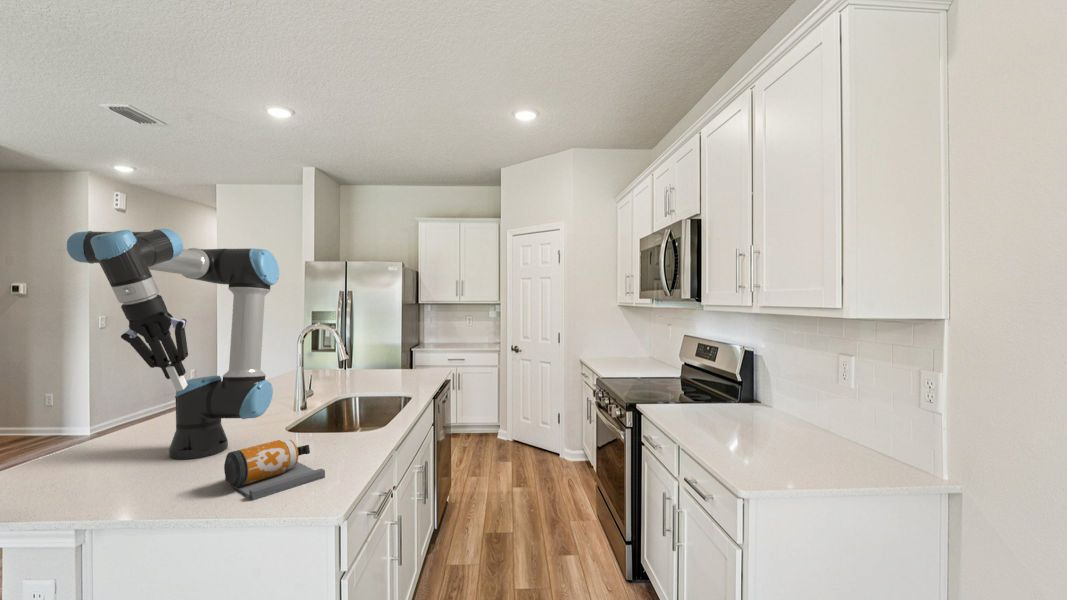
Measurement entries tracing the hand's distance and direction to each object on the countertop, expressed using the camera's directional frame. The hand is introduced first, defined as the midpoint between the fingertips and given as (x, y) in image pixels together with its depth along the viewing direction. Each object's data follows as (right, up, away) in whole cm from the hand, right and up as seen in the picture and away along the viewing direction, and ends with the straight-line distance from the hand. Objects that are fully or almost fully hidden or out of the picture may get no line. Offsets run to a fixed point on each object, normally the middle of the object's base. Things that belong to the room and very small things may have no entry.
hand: (182, 387), depth 115 cm
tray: (+17, -27, +11) cm, 33 cm away
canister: (+8, -22, +4) cm, 24 cm away
